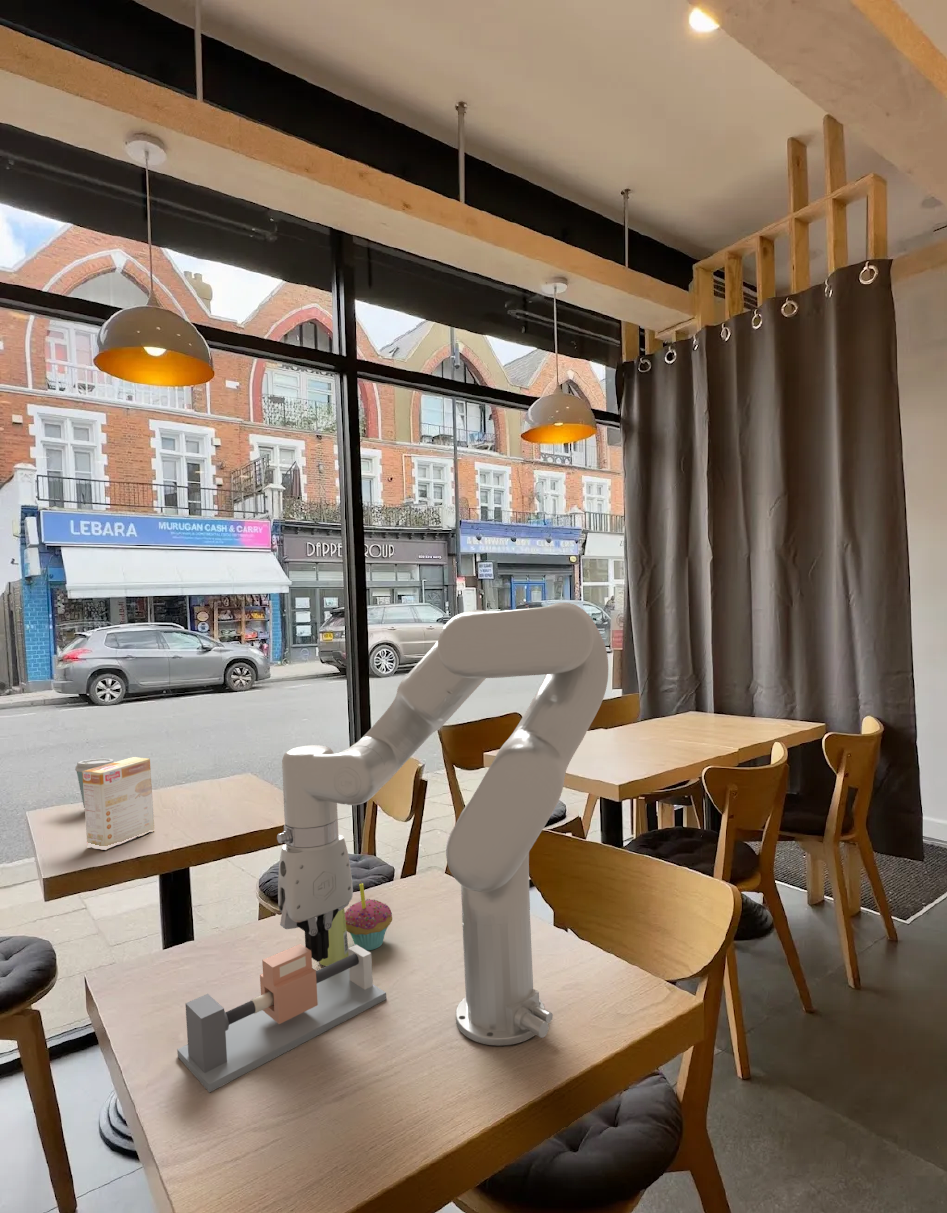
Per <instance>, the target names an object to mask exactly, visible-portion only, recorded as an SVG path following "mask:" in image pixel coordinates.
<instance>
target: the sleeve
mask: <svg viewBox="0 0 947 1213" xmlns="http://www.w3.org/2000/svg"><path fill="white" fill-rule="evenodd" d="M261 964H262V973H261V974H259V983H260V984H259V985H260V996H261V995H263V994H265V993H267V992H269V991H271V992H272V993H273V995H274V1005H272V1006H270V1007H268V1008H266V1009H264V1010H263V1011H264V1012H265V1013H266V1014H268V1015H269V1016H270V1017H271V1018H272V1019H274V1020H275V1021H276V1022H277V1023H278V1024H281V1023H283V1022H285V1021H287V1020H289V1019H291V1018H293V1017H295V1016H297V1015H299V1014H301V1013H303V1012H305V1011H307V1010H309V1009H311V1008H313V1007H315V1006H317V1005H318V1001H317V982H316V971H317V970H316V969H314V968H313V958H312V956H311V950H309V949H308V948H306V947H305V945H303V944H302V943H299V944H297V945H294V946H292V947H289V948H287V949H285V950H282V951H280V952H278V953H275V954H273V955H270V956H268V957H266V958H263V959H262V962H261Z"/></svg>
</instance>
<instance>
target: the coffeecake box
mask: <svg viewBox="0 0 947 1213" xmlns="http://www.w3.org/2000/svg"><path fill="white" fill-rule="evenodd" d="M151 772H152V770H151V759H150V758H149V757H148V758H147V757H146V758H145V757H139V756H132V757H128V758H125V759H121V760H118V761H115V762H114V763H110V764H106V765H103V766H99V767H96V768H92V769H89V770H85V771H82V776H83V791H84V804H85V809H84V815H85V817H84V818H85V831H86V832H85V833H86V843H87V842H88V843H91V844H95V845H99V846H108V845H111V844H114V843H117V842H122V841H124V840H126V839H129V838H132V837H134V836H137V835H139V834H142V833H145V832H148V831H149V830H154V829H155V816H154V804H153V803H154V801H153V788H152V773H151Z"/></svg>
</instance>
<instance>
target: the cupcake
mask: <svg viewBox="0 0 947 1213" xmlns="http://www.w3.org/2000/svg"><path fill="white" fill-rule="evenodd" d="M358 886H359V892H360V893H359V894H360V901H358V902H356V903H354V904H352V905H350V906H349V908H347V909H346V910H345V920H346V930H347V933H349V934H350V937H351V938H352V941H353V944H354V945H358V946H360V947H361V948H363V949H365V950H367V951H368V952H369V951H373V950H377V949H378V948H380V947H381V946H382V945H383V943H384V940H385V935H386V932H387V929H388V928H389V926H390V925H391V923H392V922H393V915H392V914H393V912H392V911H391V910H392V909H391V908H390V907H389V905H388V904H387V903H384V902H381V901H379V900H376V899H369V898H367V899H366V895H365V887H364V883H363V882H362V880H361V879H360V880H359V885H358Z"/></svg>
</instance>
